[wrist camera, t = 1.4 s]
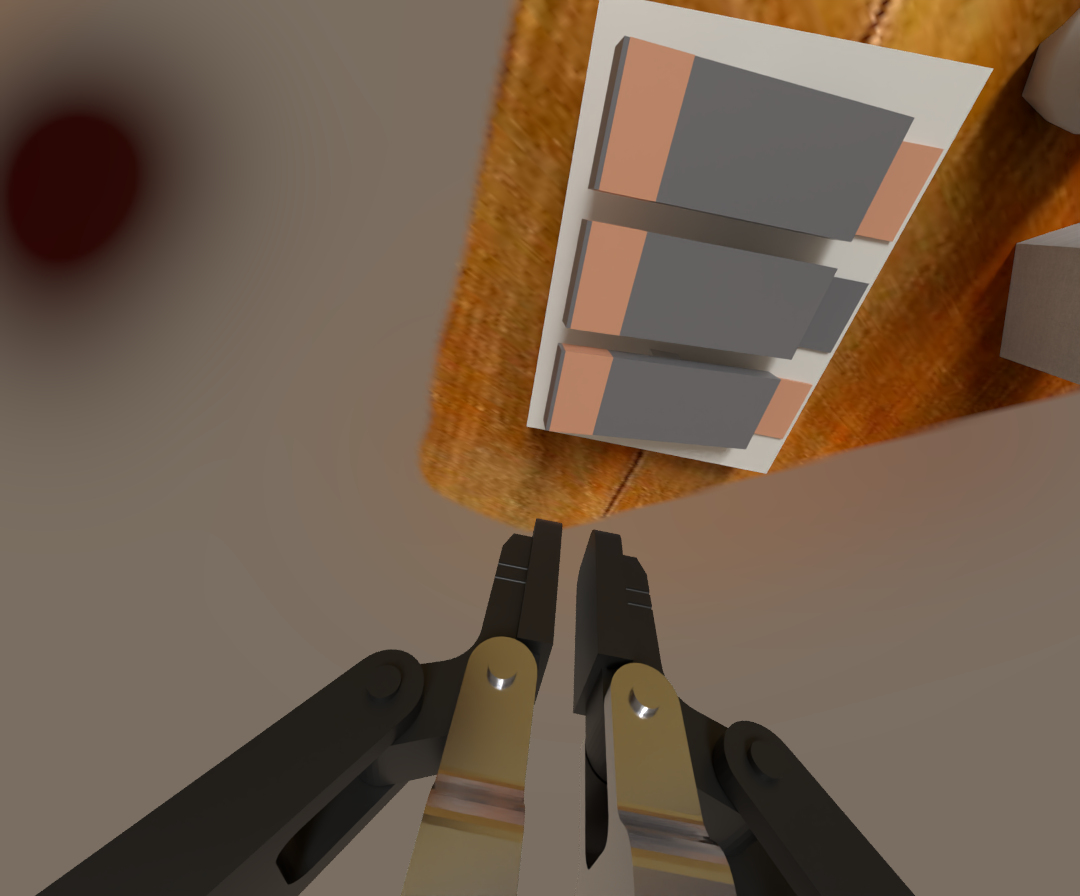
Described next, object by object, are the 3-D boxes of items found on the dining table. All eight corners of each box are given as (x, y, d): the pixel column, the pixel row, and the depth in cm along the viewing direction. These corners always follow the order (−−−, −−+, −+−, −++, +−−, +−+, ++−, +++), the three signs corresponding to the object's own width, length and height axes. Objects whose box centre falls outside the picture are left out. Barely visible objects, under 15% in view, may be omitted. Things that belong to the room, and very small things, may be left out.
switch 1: (888, 121, 17) (915, 117, 16) (831, 239, 19) (851, 242, 18) (615, 46, 15) (624, 35, 14) (587, 189, 17) (593, 188, 16)
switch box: (921, 94, 20) (1026, 57, 15) (745, 443, 30) (774, 486, 25) (598, 30, 20) (601, -27, 15) (533, 401, 30) (523, 436, 25)
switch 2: (819, 264, 20) (838, 268, 19) (777, 352, 22) (791, 360, 21) (581, 218, 17) (587, 219, 16) (562, 321, 20) (566, 328, 19)
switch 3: (767, 370, 22) (781, 379, 21) (734, 439, 25) (746, 449, 24) (557, 342, 20) (561, 350, 19) (543, 419, 22) (545, 430, 21)
